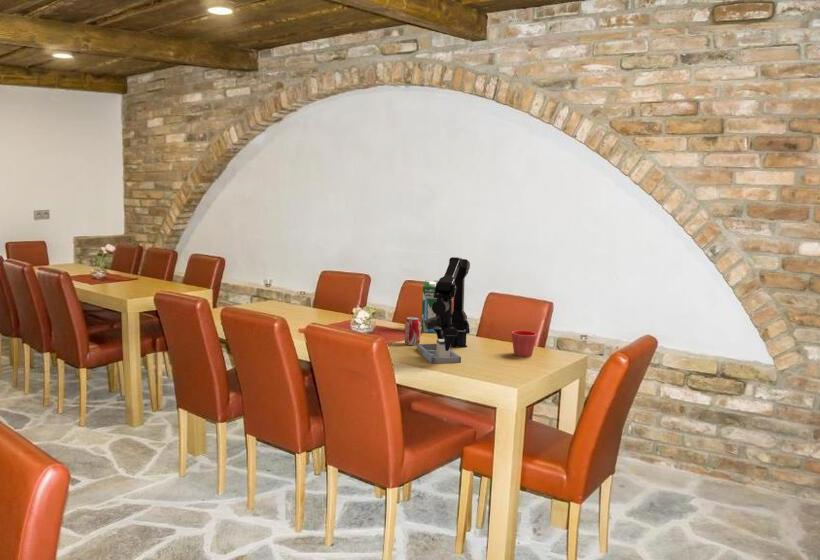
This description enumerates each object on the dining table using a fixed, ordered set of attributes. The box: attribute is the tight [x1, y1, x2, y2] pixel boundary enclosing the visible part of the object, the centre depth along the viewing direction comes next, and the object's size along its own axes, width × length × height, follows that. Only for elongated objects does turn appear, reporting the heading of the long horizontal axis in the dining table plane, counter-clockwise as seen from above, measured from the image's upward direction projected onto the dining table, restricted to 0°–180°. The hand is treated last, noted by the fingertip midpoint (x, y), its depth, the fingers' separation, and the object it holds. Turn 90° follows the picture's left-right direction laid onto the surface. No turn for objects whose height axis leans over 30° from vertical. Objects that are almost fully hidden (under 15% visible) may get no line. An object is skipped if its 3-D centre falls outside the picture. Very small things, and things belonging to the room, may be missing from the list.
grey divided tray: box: [416, 343, 462, 364], centre depth 296 cm, size 12×26×3 cm, turn 14°
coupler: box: [435, 338, 451, 357], centre depth 290 cm, size 5×5×8 cm
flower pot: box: [511, 330, 537, 358], centre depth 301 cm, size 11×11×10 cm
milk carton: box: [420, 279, 439, 334], centre depth 347 cm, size 9×9×25 cm
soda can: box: [404, 316, 422, 346], centre depth 316 cm, size 7×7×12 cm
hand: (443, 348), depth 290 cm, fingers open, 9 cm apart
